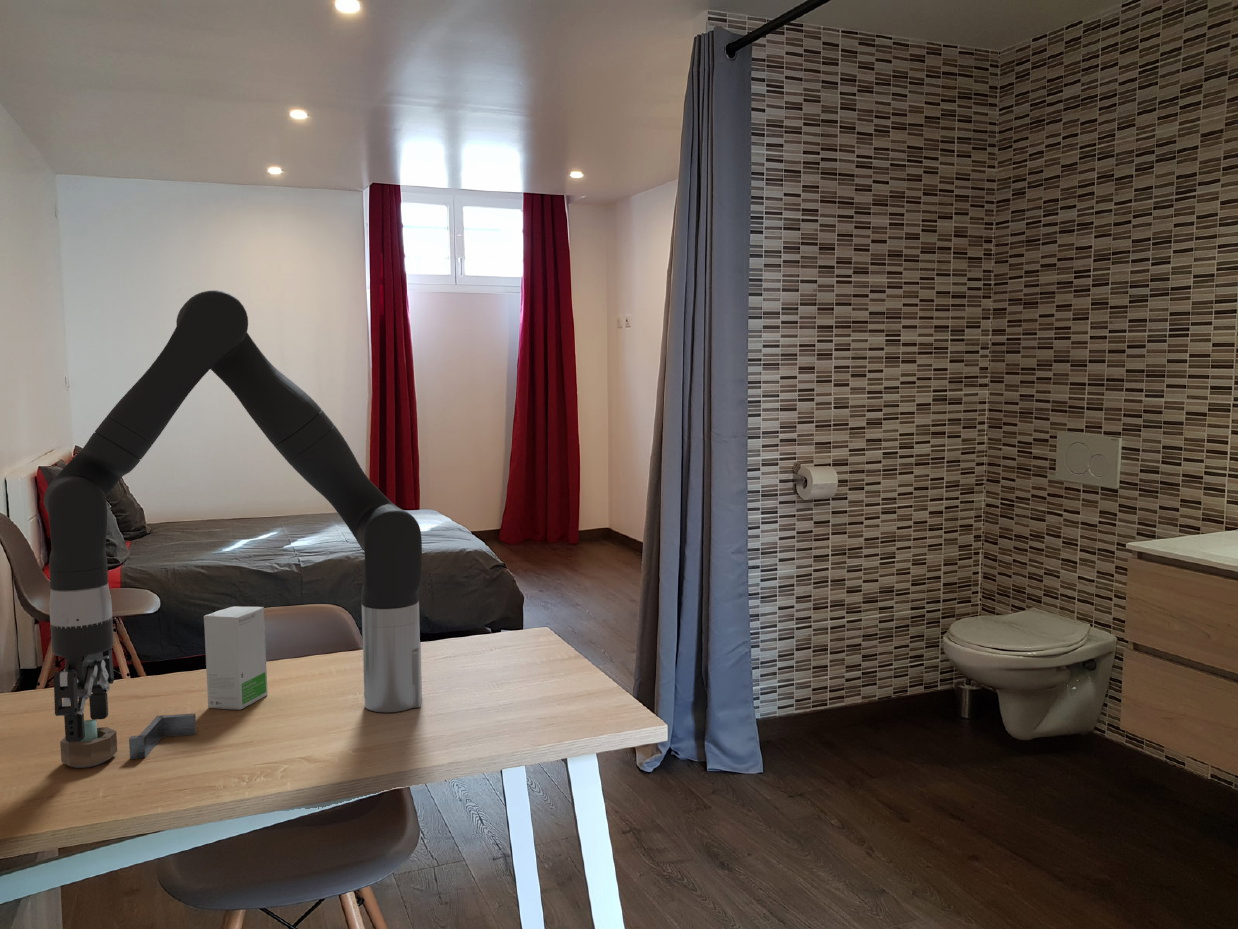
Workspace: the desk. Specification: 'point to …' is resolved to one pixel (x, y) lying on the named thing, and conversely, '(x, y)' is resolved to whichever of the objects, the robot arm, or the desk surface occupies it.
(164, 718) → the bent rail
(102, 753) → the walnut ring
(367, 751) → the desk surface
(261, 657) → the skincare box
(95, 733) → the teal flanged peg
